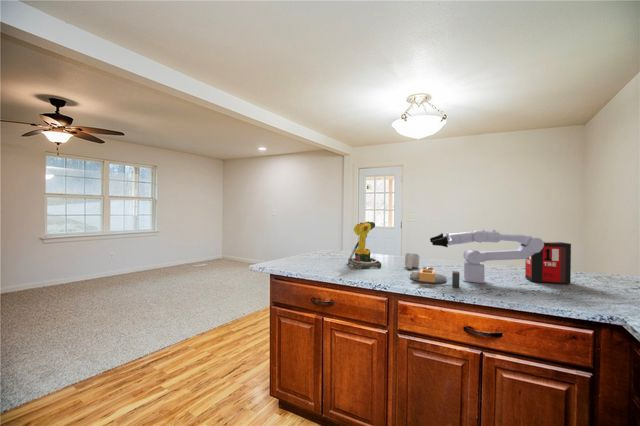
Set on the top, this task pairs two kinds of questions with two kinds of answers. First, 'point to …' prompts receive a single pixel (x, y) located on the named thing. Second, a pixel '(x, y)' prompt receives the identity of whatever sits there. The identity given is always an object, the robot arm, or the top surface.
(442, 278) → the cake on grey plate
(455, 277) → the wedge
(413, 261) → the grey rounded block
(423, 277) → the bracket
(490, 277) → the top surface
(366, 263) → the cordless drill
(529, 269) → the cleaning product box
